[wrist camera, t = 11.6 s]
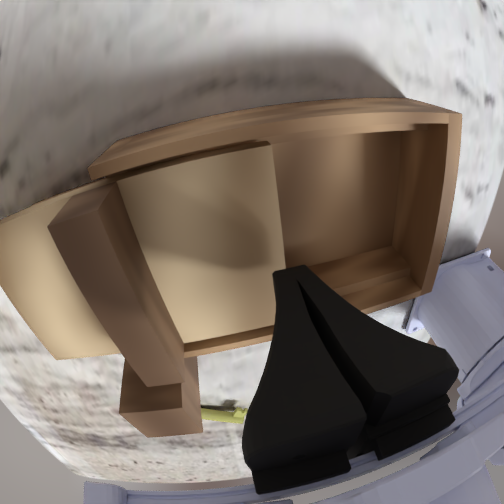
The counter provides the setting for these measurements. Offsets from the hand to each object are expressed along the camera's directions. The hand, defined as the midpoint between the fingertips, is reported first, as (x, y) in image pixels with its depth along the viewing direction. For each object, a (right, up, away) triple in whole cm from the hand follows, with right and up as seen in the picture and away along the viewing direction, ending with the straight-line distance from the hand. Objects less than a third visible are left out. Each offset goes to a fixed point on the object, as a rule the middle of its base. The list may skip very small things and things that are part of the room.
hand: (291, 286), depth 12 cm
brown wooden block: (-8, -5, +9) cm, 13 cm away
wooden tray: (-3, +3, +4) cm, 6 cm away
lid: (-7, 0, +1) cm, 8 cm away
